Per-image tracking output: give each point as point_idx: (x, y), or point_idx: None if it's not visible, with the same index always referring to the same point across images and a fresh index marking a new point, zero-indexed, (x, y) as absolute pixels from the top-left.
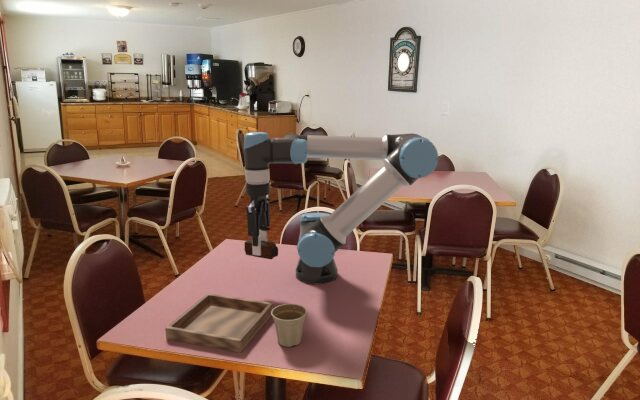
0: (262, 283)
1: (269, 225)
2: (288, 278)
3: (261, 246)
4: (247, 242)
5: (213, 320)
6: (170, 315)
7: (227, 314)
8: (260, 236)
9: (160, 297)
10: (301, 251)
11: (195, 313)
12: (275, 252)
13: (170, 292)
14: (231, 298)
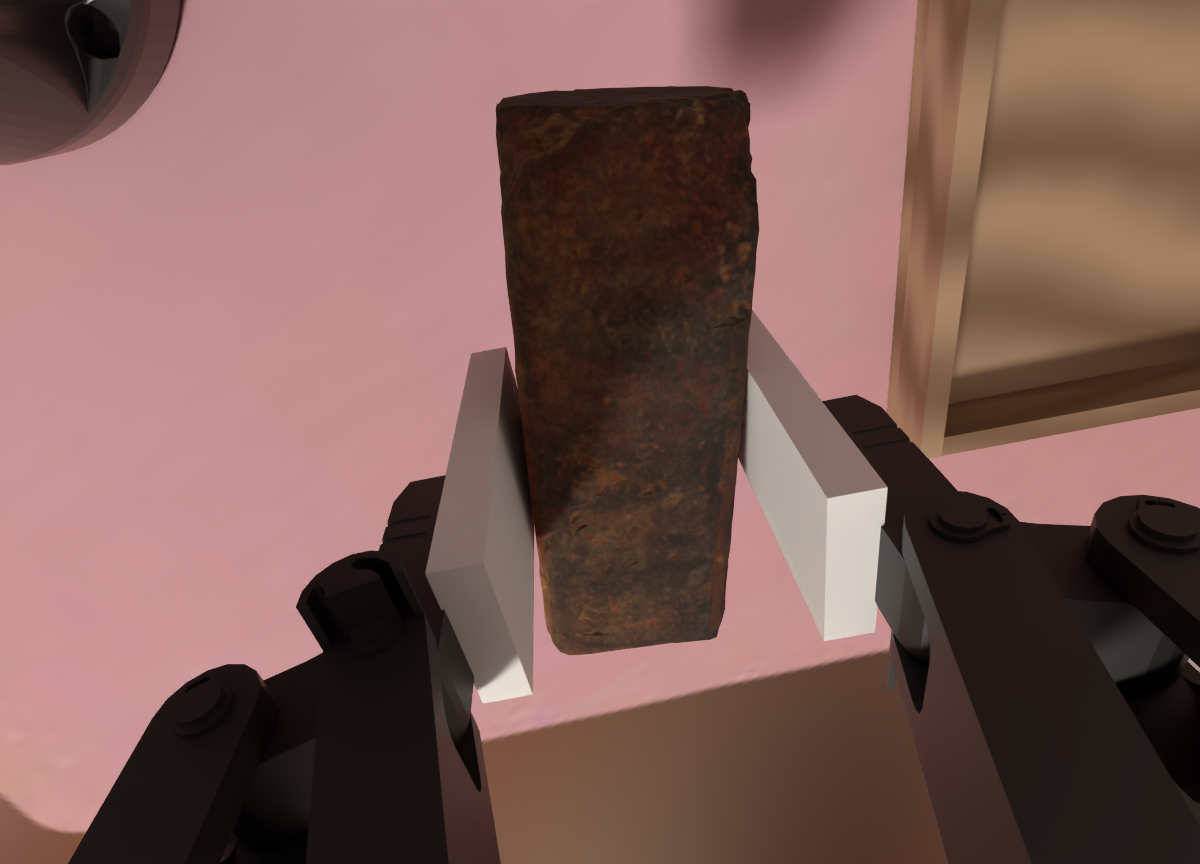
0: (460, 302)
1: (210, 689)
2: (226, 156)
3: (744, 360)
4: (717, 606)
5: (1159, 226)
6: (1066, 487)
7: (1065, 195)
8: (829, 485)
9: (886, 639)
10: None
11: (1086, 380)
12: (609, 96)
13: (822, 642)
14: (964, 271)
